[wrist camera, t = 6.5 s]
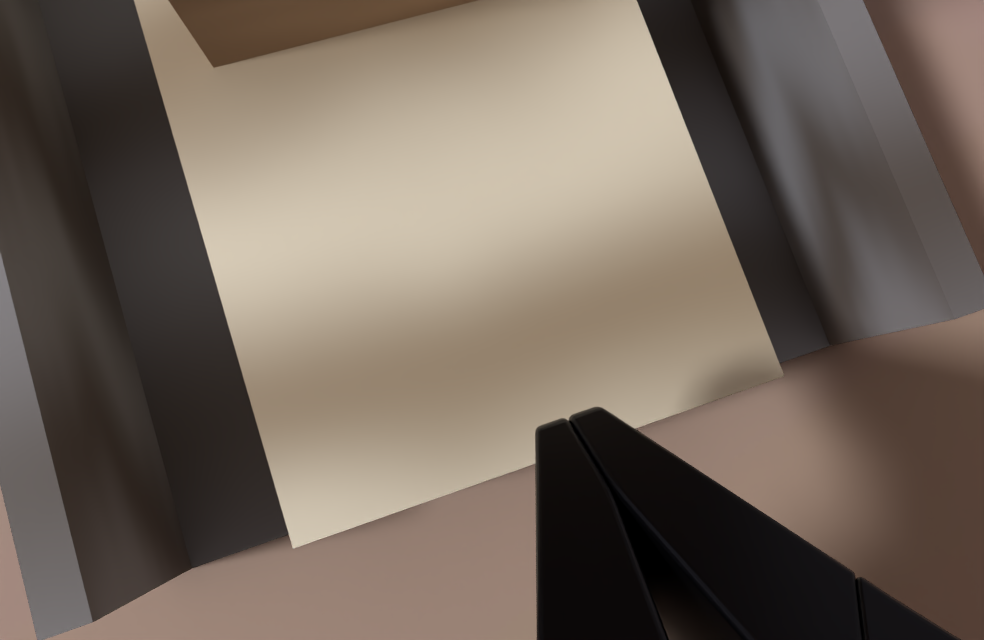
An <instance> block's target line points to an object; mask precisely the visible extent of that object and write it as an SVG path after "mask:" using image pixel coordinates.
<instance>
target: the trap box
mask: <svg viewBox="0 0 984 640" xmlns="http://www.w3.org/2000/svg"><path fill="white" fill-rule="evenodd" d="M982 309H984V275H983V272H982V270H981V268H980V266H979V263H978V261H977V259H976V256H975V254H974V252H973V250H972V247H971V245H970V243H969V241H968V238H967V236H966V234H965V231H964V229H963V227H962V225H961V222H960V220H959V218H958V215H957V213H956V211H955V209H954V206H953V204H952V202H951V200H950V197H949V195H948V193H947V190H946V188H945V186H944V184H943V181H942V179H941V177H940V175H939V172H938V170H937V168H936V165H935V163H934V161H933V159H932V156H931V154H930V152H929V149H928V147H927V145H926V143H925V140H924V138H923V136H922V134H921V131H920V129H919V127H918V124H917V122H916V120H915V118H914V115H913V113H912V111H911V109H910V106H909V104H908V102H907V99H906V97H905V95H904V93H903V90H902V88H901V86H900V84H899V81H898V79H897V77H896V74H895V72H894V70H893V68H892V65H891V63H890V61H889V58H888V56H887V54H886V52H885V49H884V47H883V45H882V43H881V40H880V38H879V36H878V33H877V31H876V29H875V27H874V24H873V22H872V20H871V18H870V15H869V13H868V11H867V8H866V6H865V4H864V2H863V0H477V1H473V2H469V3H466V4H462V5H458V6H454V7H450V8H446V9H442V10H438V11H434V12H430V13H426V14H422V15H419V16H415V17H411V18H407V19H403V20H399V21H395V22H391V23H387V24H383V25H379V26H375V27H372V28H368V29H364V30H360V31H356V32H352V33H348V34H344V35H340V36H336V37H332V38H328V39H324V40H321V41H317V42H313V43H309V44H305V45H301V46H297V47H293V48H289V49H285V50H281V51H277V52H274V53H270V54H266V55H262V56H258V57H254V58H250V59H246V60H242V61H238V62H234V63H230V64H227V65H223V66H219V67H215V68H213V66H212V65H211V63H210V62H209V60H208V59H207V57H206V56H205V54H204V53H203V51H202V50H201V48H200V47H199V45H198V44H197V42H196V41H195V39H194V38H193V36H192V35H191V33H190V32H189V30H188V29H187V27H186V26H185V25H184V23H183V22H182V20H181V19H180V17H179V16H178V14H177V13H176V11H175V10H174V8H173V7H172V5H171V4H170V2H169V1H168V0H0V485H1V490H2V494H3V498H4V502H5V506H6V511H7V515H8V519H9V523H10V527H11V532H12V536H13V540H14V544H15V548H16V552H17V557H18V561H19V565H20V569H21V573H22V578H23V582H24V586H25V590H26V594H27V598H28V603H29V607H30V611H31V615H32V619H33V624H34V628H35V632H36V636H37V640H44V639H47V638H49V637H52V636H55V635H58V634H61V633H64V632H66V631H69V630H72V629H75V628H78V627H81V626H84V625H86V624H89V623H92V622H94V621H96V620H98V619H100V618H102V617H103V616H105V615H107V614H109V613H111V612H113V611H114V610H116V609H118V608H120V607H122V606H124V605H125V604H127V603H129V602H131V601H133V600H135V599H136V598H138V597H140V596H142V595H144V594H146V593H147V592H149V591H151V590H153V589H155V588H157V587H158V586H160V585H162V584H164V583H166V582H168V581H169V580H171V579H173V578H175V577H177V576H179V575H180V574H182V573H184V572H186V571H188V570H190V569H191V568H194V567H197V566H200V565H202V564H205V563H208V562H211V561H214V560H217V559H220V558H223V557H225V556H228V555H231V554H234V553H237V552H240V551H243V550H245V549H248V548H251V547H254V546H257V545H260V544H263V543H266V542H268V541H271V540H274V539H277V538H280V537H283V536H286V535H288V534H289V537H290V540H291V543H292V547H293V549H294V548H296V547H299V546H302V545H305V544H308V543H311V542H313V541H316V540H319V539H322V538H325V537H328V536H331V535H333V534H336V533H339V532H342V531H345V530H348V529H350V528H353V527H356V526H359V525H362V524H365V523H368V522H370V521H373V520H376V519H379V518H382V517H385V516H388V515H390V514H393V513H396V512H399V511H402V510H405V509H407V508H410V507H413V506H416V505H419V504H422V503H425V502H427V501H430V500H433V499H436V498H439V497H442V496H444V495H447V494H450V493H453V492H456V491H459V490H462V489H464V488H467V487H470V486H473V485H476V484H479V483H481V482H484V481H487V480H490V479H493V478H496V477H499V476H501V475H504V474H507V473H510V472H513V471H516V470H518V469H521V468H524V467H527V466H530V465H533V464H535V431H536V428H537V427H538V426H540V425H543V424H546V423H549V422H552V421H555V420H558V419H561V418H565V419H567V420H569V417H570V416H571V415H572V414H575V413H578V412H581V411H584V410H587V409H589V408H592V407H602V408H604V409H605V410H607V411H608V412H610V413H612V414H613V415H615V416H616V417H618V418H619V419H621V420H622V421H624V422H625V423H627V424H628V425H630V426H631V427H633V428H634V429H635V428H638V427H641V426H644V425H647V424H649V423H652V422H655V421H658V420H661V419H664V418H667V417H669V416H672V415H675V414H678V413H681V412H684V411H686V410H689V409H692V408H695V407H698V406H701V405H704V404H706V403H709V402H712V401H715V400H718V399H721V398H723V397H726V396H729V395H732V394H735V393H738V392H741V391H743V390H746V389H749V388H752V387H755V386H758V385H761V384H763V383H766V382H769V381H772V380H775V379H778V378H780V377H783V376H784V374H783V371H782V369H781V366H780V364H779V363H781V362H784V361H787V360H790V359H793V358H796V357H799V356H802V355H804V354H807V353H810V352H813V351H816V350H819V349H822V348H824V347H827V346H830V345H835V344H840V343H844V342H849V341H854V340H859V339H863V338H868V337H873V336H877V335H882V334H887V333H892V332H896V331H901V330H906V329H910V328H915V327H920V326H925V325H929V324H934V323H939V322H943V321H948V320H953V319H957V318H959V317H962V316H965V315H968V314H971V313H974V312H976V311H979V310H982Z"/></svg>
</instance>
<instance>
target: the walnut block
mask: <svg viewBox="0 0 984 640" xmlns="http://www.w3.org/2000/svg"><path fill="white" fill-rule="evenodd" d="M168 1H169V2H170V4H171V5H172V7H173V8H174V10H175V11H176V13H177V14H178V16H179V17H180V19H181V20H182V22H183V23H184V25H185V26H186V27H187V29H188V30H189V32H190V33H191V35H192V36H193V38H194V39H195V41H196V42H197V44H198V45H199V47H200V48H201V50H202V51H203V53H204V54H205V56H206V57H207V59H208V60H209V62H210V63H211V65H212V66H213V68H215V67H219V66H223V65H227V64H230V63H234V62H238V61H242V60H246V59H250V58H254V57H258V56H262V55H266V54H270V53H274V52H277V51H281V50H285V49H289V48H293V47H297V46H301V45H305V44H309V43H313V42H317V41H321V40H324V39H328V38H332V37H336V36H340V35H344V34H348V33H352V32H356V31H360V30H364V29H368V28H372V27H375V26H379V25H383V24H387V23H391V22H395V21H399V20H403V19H407V18H411V17H415V16H419V15H422V14H426V13H430V12H434V11H438V10H442V9H446V8H450V7H454V6H458V5H462V4H466V3H469V2H473V1H477V0H168Z"/></svg>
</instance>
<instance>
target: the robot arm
mask: <svg viewBox="0 0 984 640" xmlns="http://www.w3.org/2000/svg"><path fill="white" fill-rule="evenodd" d="M535 479H536V594H537V640H961V639H959V638H957V637H955V636H954V635H952V634H950V633H949V632H947V631H946V630H944V629H942V628H941V627H939V626H938V625H936V624H934V623H933V622H931V621H930V620H928V619H926V618H925V617H923V616H922V615H920V614H918V613H917V612H915V611H914V610H912V609H910V608H909V607H907V606H906V605H904V604H902V603H901V602H899V601H897V600H896V599H894V598H893V597H891V596H890V595H888V594H887V593H885V592H884V591H882V590H881V589H879V588H878V587H876V586H875V585H873V584H872V583H870V582H869V581H867V580H866V579H864V578H862V577H858V578H857V579H856V578H855V574H854V572H853V571H851V570H850V569H848V568H847V567H845V566H844V565H842V564H841V563H839V562H838V561H836V560H835V559H833V558H832V557H830V556H828V555H827V554H825V553H824V552H822V551H821V550H819V549H818V548H816V547H815V546H813V545H812V544H810V543H809V542H807V541H806V540H804V539H802V538H801V537H799V536H798V535H796V534H795V533H793V532H792V531H790V530H789V529H787V528H786V527H784V526H783V525H781V524H780V523H778V522H777V521H775V520H773V519H772V518H770V517H769V516H767V515H766V514H764V513H763V512H761V511H760V510H758V509H757V508H755V507H754V506H752V505H751V504H749V503H747V502H746V501H744V500H743V499H741V498H740V497H738V496H737V495H735V494H734V493H732V492H731V491H729V490H728V489H726V488H725V487H723V486H722V485H720V484H718V483H717V482H715V481H714V480H712V479H711V478H709V477H708V476H706V475H705V474H703V473H702V472H700V471H699V470H697V469H696V468H694V467H692V466H691V465H689V464H688V463H686V462H685V461H683V460H682V459H680V458H679V457H677V456H676V455H674V454H673V453H671V452H670V451H668V450H667V449H665V448H663V447H662V446H660V445H659V444H657V443H656V442H654V441H653V440H651V439H650V438H648V437H647V436H645V435H644V434H642V433H641V432H639V431H637V430H636V429H634V428H633V427H631V426H630V425H628V424H627V423H625V422H624V421H622V420H621V419H619V418H618V417H616V416H615V415H613V414H612V413H610V412H608V411H607V410H605V409H604V408H602V407H592V408H589V409H587V410H584V411H581V412H578V413H575V414H572V415H571V416H570V417H569V420H567V419H565V418H561V419H558V420H555V421H552V422H549V423H546V424H543V425H540V426H538V427H537V428H536V431H535Z"/></svg>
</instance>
